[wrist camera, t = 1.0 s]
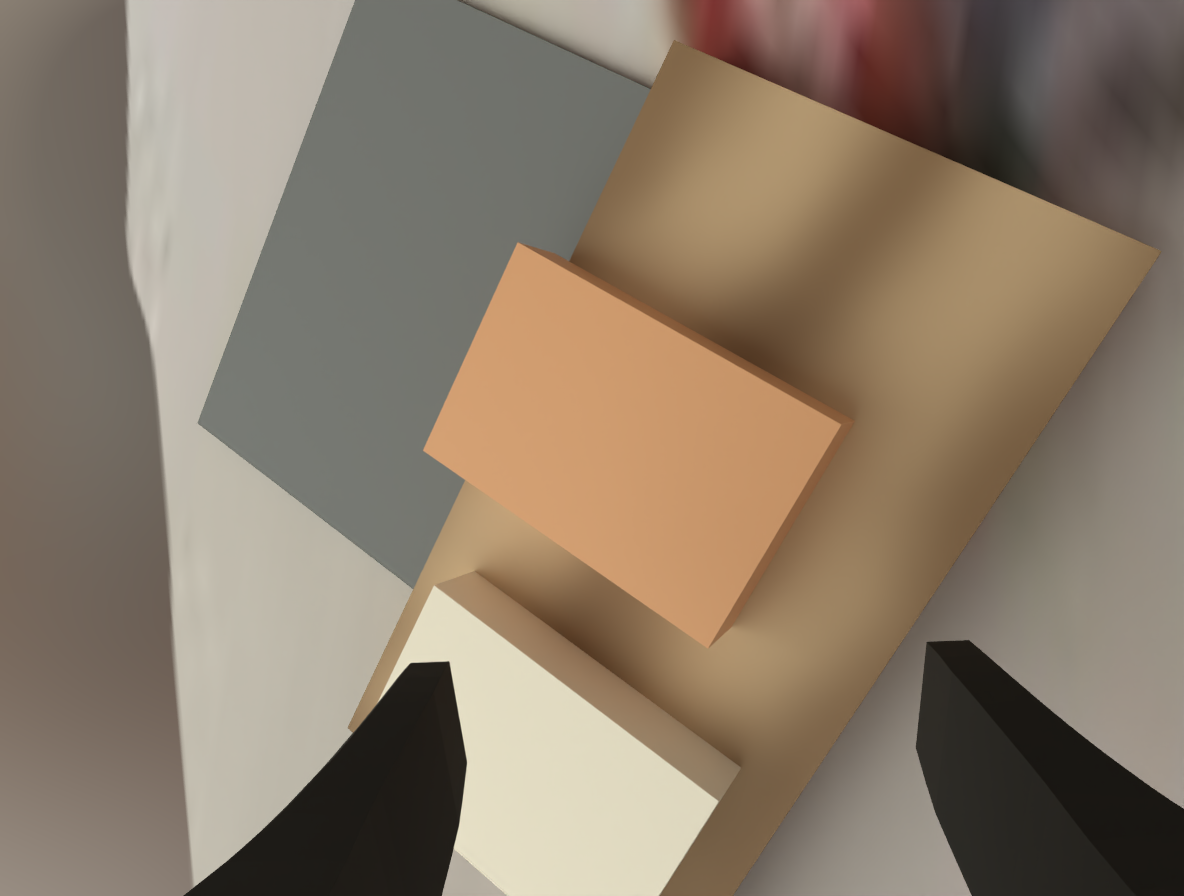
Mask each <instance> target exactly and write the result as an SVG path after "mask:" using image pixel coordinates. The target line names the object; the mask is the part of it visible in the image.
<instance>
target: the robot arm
mask: <svg viewBox="0 0 1184 896" xmlns="http://www.w3.org/2000/svg"><path fill="white" fill-rule="evenodd" d="M916 749H917V753H918V756H919V760H920V763H921V767H922V770H923V774H924V777H925V781H926V784H927V787H928V791H929V794H930V797H931V800H932V803H933V806H934V810H935V813H936V815H937V817H938V820H939V822H940V824H941V827H942V829H943V831H944V834H945V836H946V838H947V841H948V843H949V845H950V847H951V850H952V852H953V854H954V857H955V859H956V861H957V863H958V866H959V868H960V870H961V872H962V875H963V877H964V879H965V881H966V884H967V886H968V888H969V890H970V893H971V895H972V896H1184V809H1183V808H1182V807H1180V806H1178V805H1177V804H1175V803H1174V802H1172V801H1171V800H1169V799H1168V798H1166V797H1165V796H1163V795H1162V794H1160V793H1159V792H1157V791H1156V790H1155V789H1153V788H1152V787H1150V786H1149V785H1147V784H1146V783H1144V782H1143V781H1142V780H1140V779H1139V778H1138V777H1136V776H1135V775H1134V774H1132V773H1131V772H1129V771H1128V770H1127V769H1125V768H1124V767H1123V766H1121V765H1120V764H1119V763H1117V762H1116V761H1114V760H1113V759H1112V758H1110V757H1109V756H1108V755H1106V754H1105V753H1104V752H1102V751H1101V750H1100V749H1098V748H1097V747H1096V746H1095V745H1093V744H1092V743H1091V742H1089V741H1088V740H1087V739H1086V738H1084V737H1083V736H1082V735H1080V734H1079V733H1078V732H1077V731H1075V730H1074V729H1073V728H1072V727H1070V726H1069V725H1068V724H1067V723H1066V722H1064V721H1063V720H1062V719H1061V718H1059V717H1058V716H1057V715H1056V714H1055V713H1053V712H1052V711H1051V710H1050V709H1049V708H1047V707H1046V706H1045V705H1044V704H1043V703H1041V702H1040V701H1039V700H1038V699H1037V698H1035V697H1034V696H1033V695H1032V694H1031V693H1030V692H1028V691H1027V690H1026V689H1025V688H1024V687H1023V686H1021V685H1020V684H1019V683H1018V682H1017V681H1016V680H1014V679H1013V678H1012V677H1011V676H1010V675H1009V674H1008V673H1006V672H1005V671H1004V670H1003V669H1002V668H1001V667H1000V666H998V665H997V664H996V663H995V662H994V661H993V660H991V659H990V658H989V657H988V656H987V655H986V654H985V653H983V652H982V651H981V650H980V649H979V648H978V647H976V646H975V645H974V644H973V643H972V642H970V641H969V640H963V641H938V642H927V645H926V655H925V665H924V674H923V684H922V694H921V703H920V713H919V722H918V732H917V742H916ZM466 769H467V758H466V753H465V747H464V741H463V736H462V730H461V724H460V719H459V713H458V707H457V702H456V696H455V690H454V685H453V679H452V673H451V668H450V662H449V661H445V662H420V663H410V664H409V665H408V666H407V667H406V668H405V669H404V670H403V672H402V673H401V674H400V675H399V677H398V678H397V679H396V680H395V682H394V683H393V684H392V685H391V687H390V688H389V689H388V691H387V692H386V693H385V694H384V696H383V697H382V698H381V699H380V701H379V702H378V703H377V704H376V706H375V707H374V708H373V709H372V711H371V712H370V713H369V714H368V715H367V717H366V718H365V719H364V720H363V722H362V723H361V724H360V725H359V727H358V728H357V729H356V730H355V731H354V732H353V734H352V735H351V736H350V737H349V738H348V739H347V741H346V742H345V743H344V744H343V745H342V746H341V748H340V749H339V750H338V751H337V752H336V753H335V755H334V756H333V757H332V758H331V759H330V760H329V762H328V763H327V764H326V765H325V766H324V767H323V768H322V769H321V770H320V771H319V773H318V774H317V775H316V776H315V777H314V778H313V779H312V780H311V781H310V782H309V783H308V784H307V785H306V786H305V787H304V788H303V790H302V791H301V792H300V793H299V794H298V795H297V796H296V797H295V798H294V799H293V800H292V801H291V802H290V803H289V804H288V805H287V806H286V807H285V808H284V809H283V810H282V811H281V812H280V813H279V814H278V815H277V816H276V817H275V818H274V819H273V820H272V821H271V822H270V823H269V824H268V825H267V826H266V827H265V828H264V829H263V830H262V831H261V832H260V833H259V834H257V835H256V836H255V837H254V838H253V839H252V840H251V841H250V842H248V843H247V844H246V845H245V846H244V847H243V848H242V849H241V850H240V851H238V852H237V853H236V854H235V855H234V856H233V857H231V858H230V859H229V860H228V861H227V862H226V863H224V864H223V865H222V866H220V867H219V868H218V869H217V870H215V871H214V872H213V873H212V874H210V875H209V876H208V877H207V878H205V879H204V880H203V881H202V882H200V883H199V884H198V885H196V886H195V887H194V888H193V889H191V890H190V891H189V892H188V893H186V894H185V895H184V896H442V892H443V888H444V884H445V880H446V877H447V873H448V869H449V865H450V861H451V857H452V853H453V849H454V845H455V841H456V836H457V832H458V828H459V823H460V815H461V808H462V801H463V793H464V785H465V777H466Z"/></svg>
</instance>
